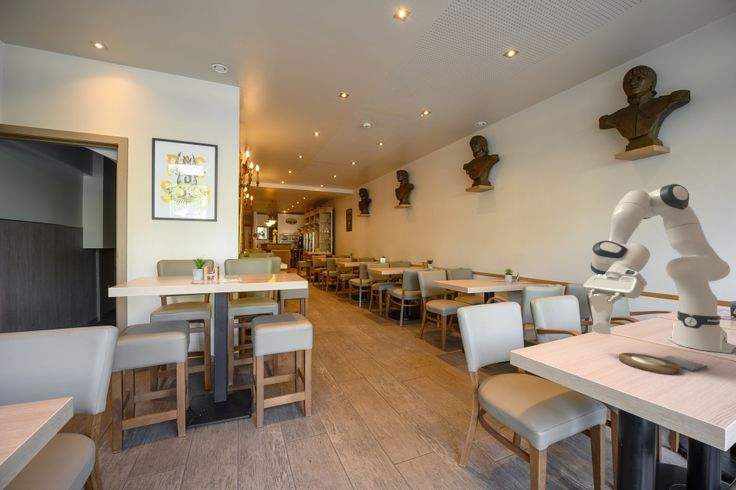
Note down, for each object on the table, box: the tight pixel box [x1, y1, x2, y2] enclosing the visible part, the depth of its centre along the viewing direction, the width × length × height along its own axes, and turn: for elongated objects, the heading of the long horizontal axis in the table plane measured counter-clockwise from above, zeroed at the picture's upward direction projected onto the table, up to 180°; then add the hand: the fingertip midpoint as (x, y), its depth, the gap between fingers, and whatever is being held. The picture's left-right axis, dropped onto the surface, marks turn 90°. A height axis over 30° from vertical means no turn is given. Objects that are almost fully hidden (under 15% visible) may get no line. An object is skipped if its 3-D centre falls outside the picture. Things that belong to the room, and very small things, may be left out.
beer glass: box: [590, 293, 614, 335], centre depth 117 cm, size 7×7×15 cm
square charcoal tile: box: [661, 355, 708, 373], centre depth 106 cm, size 10×10×1 cm
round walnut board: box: [618, 352, 682, 376], centre depth 105 cm, size 16×16×2 cm
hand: (600, 300), depth 117 cm, fingers closed on beer glass, 6 cm apart
